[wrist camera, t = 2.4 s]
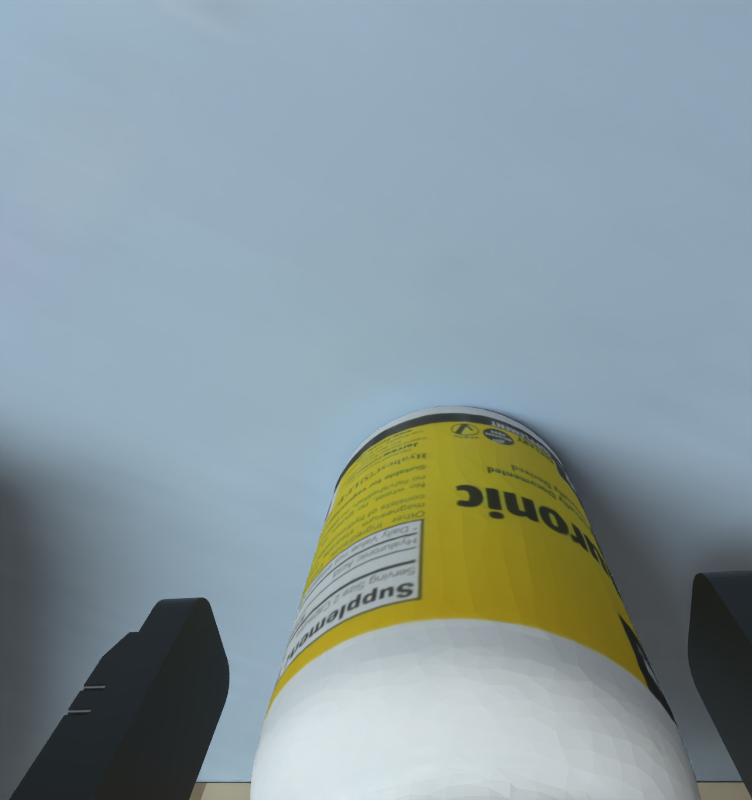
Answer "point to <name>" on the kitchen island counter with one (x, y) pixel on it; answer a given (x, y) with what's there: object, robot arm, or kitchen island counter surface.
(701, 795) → the socket holder
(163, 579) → the kitchen island counter surface
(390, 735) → the supplement bottle
